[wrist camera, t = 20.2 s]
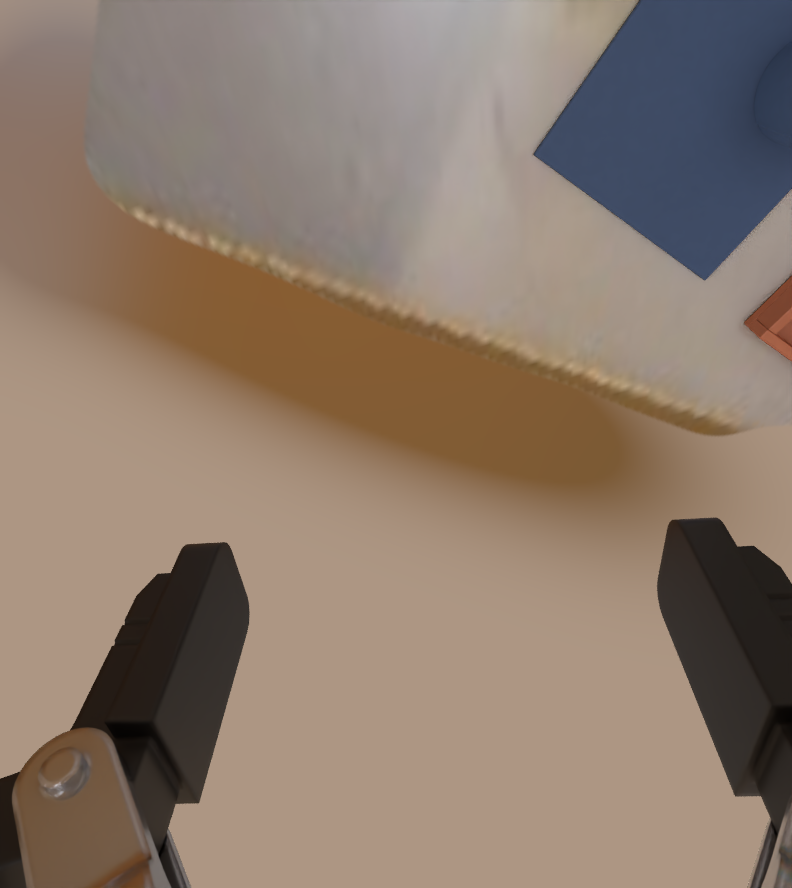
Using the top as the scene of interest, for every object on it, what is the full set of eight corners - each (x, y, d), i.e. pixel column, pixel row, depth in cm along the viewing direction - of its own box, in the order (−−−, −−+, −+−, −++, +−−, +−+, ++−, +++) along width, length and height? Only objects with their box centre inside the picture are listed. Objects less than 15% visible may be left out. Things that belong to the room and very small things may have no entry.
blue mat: (720, -116, 26) (723, -118, 25) (903, 65, 29) (907, 66, 29) (533, 154, 31) (534, 155, 31) (702, 278, 35) (705, 280, 35)
